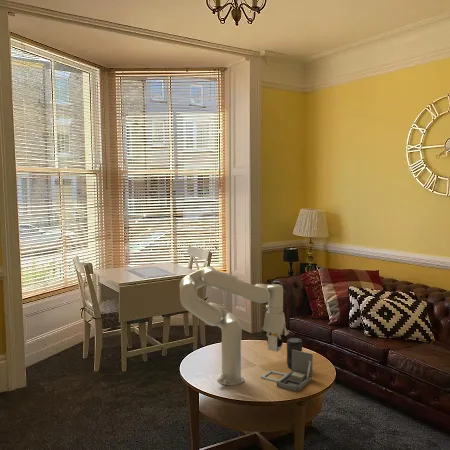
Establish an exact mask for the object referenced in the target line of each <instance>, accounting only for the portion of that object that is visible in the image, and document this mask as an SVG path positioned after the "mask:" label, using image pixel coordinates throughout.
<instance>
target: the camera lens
mask: <svg viewBox="0 0 450 450" xmlns="http://www.w3.org/2000/svg"><path fill="white" fill-rule="evenodd" d="M292 350H296V351H301V352H303V341H302V339H301V338H297V337H289V338H288V339H287V340H286V365H287V368H288V369H291V370H292Z"/></svg>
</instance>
